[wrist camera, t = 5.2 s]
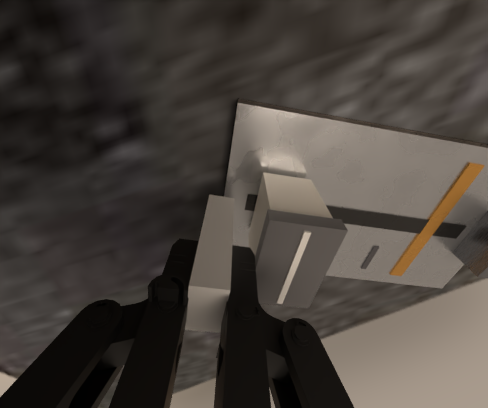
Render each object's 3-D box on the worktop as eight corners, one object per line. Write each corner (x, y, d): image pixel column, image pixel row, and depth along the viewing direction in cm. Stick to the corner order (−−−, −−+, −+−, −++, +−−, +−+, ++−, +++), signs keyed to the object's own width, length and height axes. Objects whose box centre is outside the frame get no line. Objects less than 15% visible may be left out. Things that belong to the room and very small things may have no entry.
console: (238, 98, 14) (237, 111, 11) (533, 152, 16) (610, 178, 13) (216, 249, 20) (211, 287, 17) (430, 275, 22) (463, 313, 19)
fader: (260, 168, 14) (269, 221, 10) (315, 177, 14) (348, 232, 10) (244, 238, 17) (246, 304, 12) (291, 243, 17) (308, 310, 13)
